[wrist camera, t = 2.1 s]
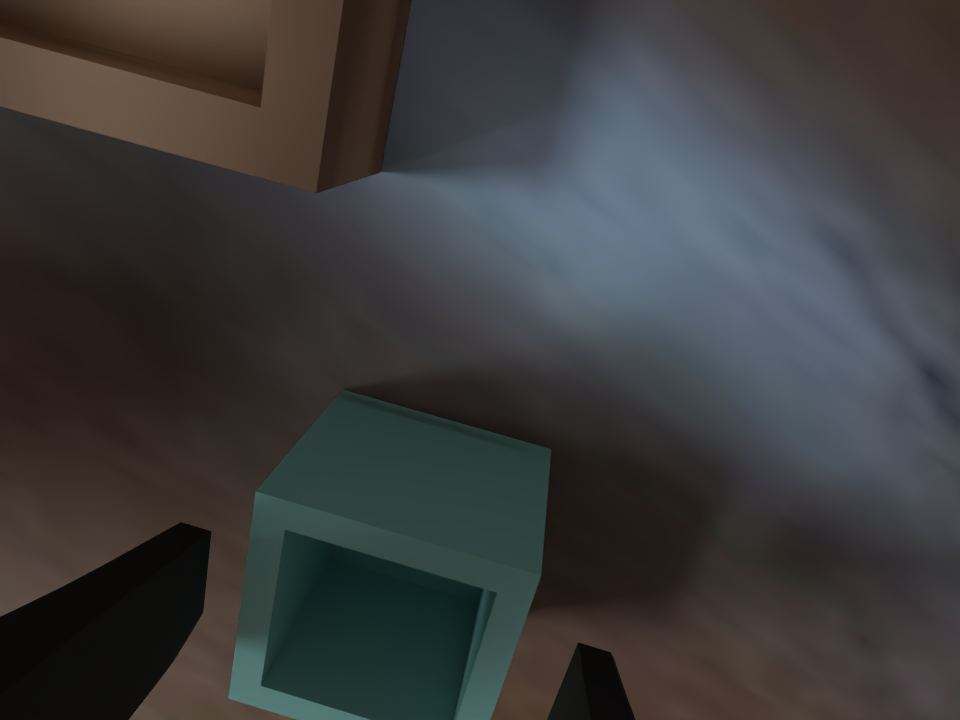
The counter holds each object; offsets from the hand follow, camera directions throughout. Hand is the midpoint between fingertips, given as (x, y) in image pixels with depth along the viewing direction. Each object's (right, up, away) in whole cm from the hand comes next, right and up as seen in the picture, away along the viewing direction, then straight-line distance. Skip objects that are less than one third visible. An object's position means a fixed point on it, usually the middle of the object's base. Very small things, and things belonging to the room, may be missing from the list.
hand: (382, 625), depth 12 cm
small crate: (0, +1, +4) cm, 4 cm away
